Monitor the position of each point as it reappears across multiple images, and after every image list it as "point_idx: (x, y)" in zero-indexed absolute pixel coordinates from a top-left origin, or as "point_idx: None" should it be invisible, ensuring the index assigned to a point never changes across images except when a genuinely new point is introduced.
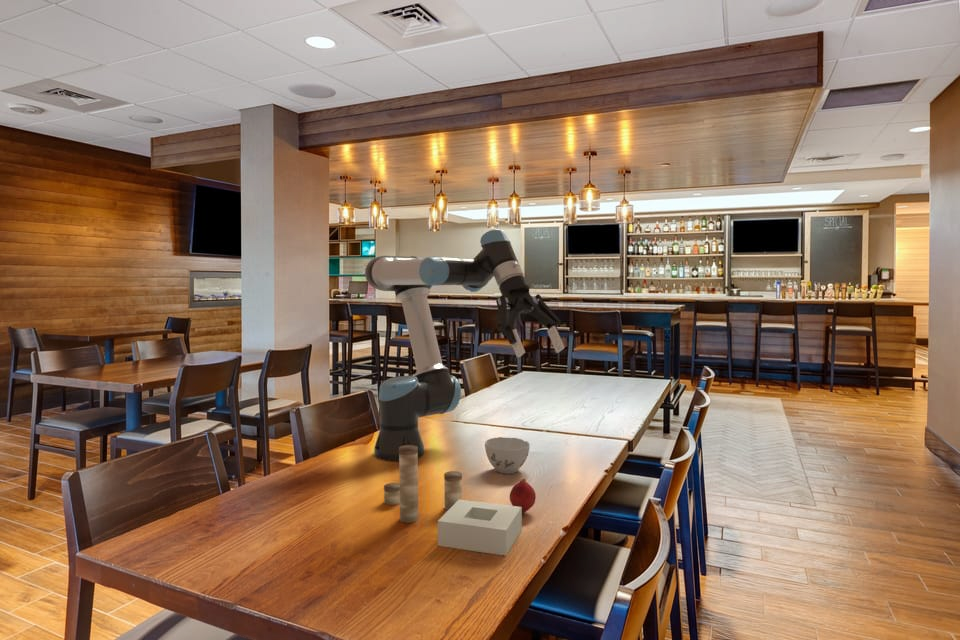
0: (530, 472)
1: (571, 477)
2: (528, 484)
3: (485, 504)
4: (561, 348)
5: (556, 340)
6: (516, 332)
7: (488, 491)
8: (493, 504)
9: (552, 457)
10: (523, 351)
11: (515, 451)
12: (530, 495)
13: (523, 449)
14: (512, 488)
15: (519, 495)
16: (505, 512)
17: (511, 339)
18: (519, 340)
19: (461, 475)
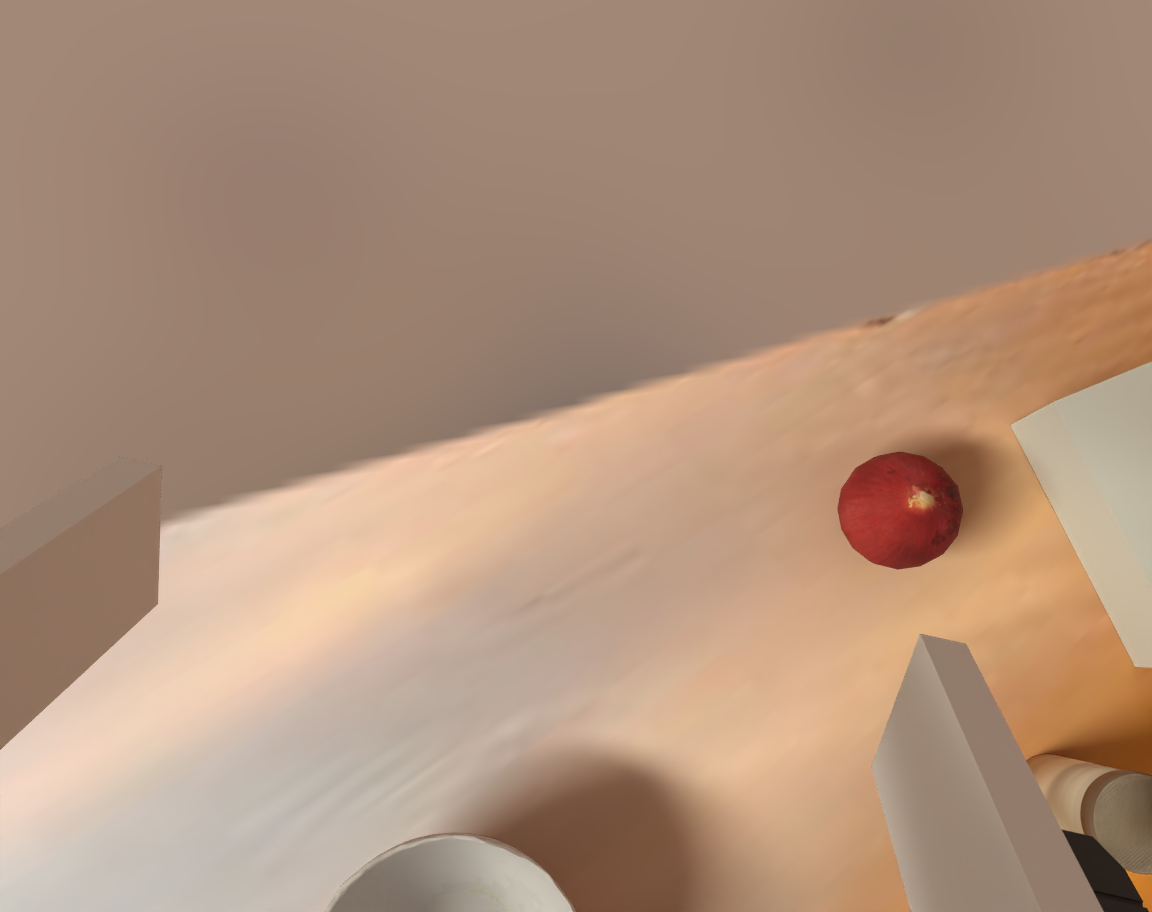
0: (415, 814)
1: (353, 599)
2: (903, 477)
3: (1146, 535)
4: (159, 490)
5: (64, 588)
6: (1059, 903)
7: (783, 806)
8: (1122, 508)
9: (105, 875)
10: (955, 648)
11: (526, 855)
12: (915, 455)
13: (470, 835)
14: (945, 540)
15: (957, 487)
16: (1147, 416)
17: (1127, 899)
18: (1005, 769)
19: (1115, 775)
